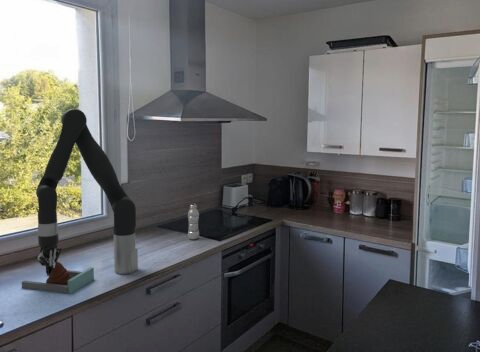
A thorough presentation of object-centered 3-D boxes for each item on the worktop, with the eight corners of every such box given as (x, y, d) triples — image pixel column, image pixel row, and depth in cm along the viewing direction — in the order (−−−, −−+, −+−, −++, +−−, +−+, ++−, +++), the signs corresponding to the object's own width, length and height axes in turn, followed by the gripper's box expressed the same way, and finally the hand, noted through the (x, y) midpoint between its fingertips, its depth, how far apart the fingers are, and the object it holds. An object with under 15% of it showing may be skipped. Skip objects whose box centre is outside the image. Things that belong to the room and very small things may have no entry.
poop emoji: (43, 288, 164) (41, 265, 163) (50, 280, 173) (49, 258, 171) (68, 287, 165) (67, 265, 164) (75, 279, 173) (74, 258, 172)
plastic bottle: (188, 241, 230) (188, 206, 228) (187, 237, 237) (186, 203, 234) (200, 240, 232) (200, 205, 229) (198, 237, 238) (197, 203, 236)
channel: (94, 278, 174) (94, 267, 174) (70, 293, 159) (70, 281, 158) (49, 273, 180) (48, 262, 179) (21, 287, 164) (21, 275, 164)
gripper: (44, 238, 160) (46, 280, 163) (66, 229, 173) (68, 269, 175) (28, 236, 162) (30, 278, 164) (51, 228, 175) (53, 267, 177)
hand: (50, 273), depth 170 cm, fingers closed
